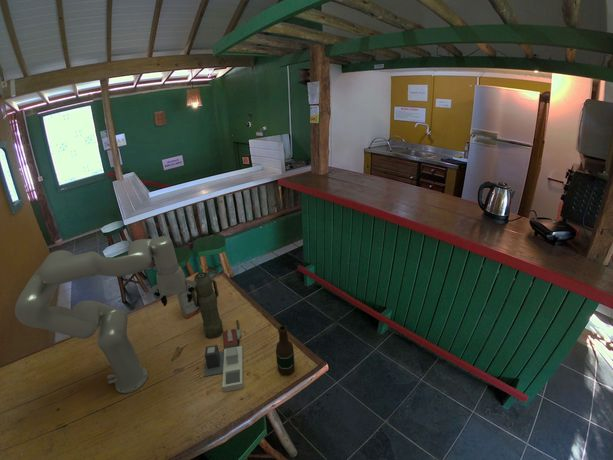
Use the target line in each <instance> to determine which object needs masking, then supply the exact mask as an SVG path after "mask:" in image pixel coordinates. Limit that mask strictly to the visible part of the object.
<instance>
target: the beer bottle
mask: <svg viewBox="0 0 613 460" xmlns="http://www.w3.org/2000/svg"><path fill="white" fill-rule="evenodd" d="M277 332H278V335H279V337H278V342H277V343H276V348H275V356H276V365H277V366H276V367H277V371H278V373H280V374H281V375H282V376H290V375H292V373H294V371H295V364H296V363H295V351H294V344H293V343H292V342H291V341H290V340H289V336H288V327H287V326H286V325H280V326H278V331H277Z"/></svg>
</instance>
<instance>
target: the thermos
mask: <svg viewBox="0 0 613 460" xmlns="http://www.w3.org/2000/svg"><path fill="white" fill-rule="evenodd" d="M194 281H195V282H196V285H195V288H194V290H193V291H192V292H191V293H192V297H193V301H194V305H195V306H196V307H198V308H199V309H200V315H201V319H202V328H203V331H204V333H205V337H206V338H207V339H210V340H213V339H217V338H220V336H222V335H223V332H224V329H223V322H222V318H220V313H219V309H218V297H219V296H220V295H219V290H218V285H217V281H216V280H215V279H214V278H211V276H210V275H209V273H208V272H204V271H201V272H198V274H196V275H195V277H194ZM195 290H196V292H197V298H196V297H195V293H194V291H195ZM196 300H197V301H196Z"/></svg>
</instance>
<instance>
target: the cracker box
mask: <svg viewBox="0 0 613 460" xmlns="http://www.w3.org/2000/svg"><path fill="white" fill-rule="evenodd" d="M198 273H199V272H195V273H193V274H191V275H189V276H187V277H186V280H191V281H194V277H195V275H196V274H198ZM187 286H188V287H191V286H192V285H189V284H187ZM194 293H195V297H196V298H197V292H196V290H195V291H194ZM176 297H177V300H178V304H179V308H180V311H181V315H182V316H184V318H185V319H187V320H188V319H190V318H192V317H194V316H195V315H197V314H198V313H201V311H200V309H199V308H198V307H196V306H195V305H194V301H193V298H192V299H191V302H188V298H187V293H186V292H184V293H180V294H176ZM196 301H197V300H196Z"/></svg>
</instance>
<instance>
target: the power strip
mask: <svg viewBox="0 0 613 460" xmlns="http://www.w3.org/2000/svg"><path fill="white" fill-rule="evenodd" d="M223 351H224V366H223V374H222V385H221V386H222V391H223V392H224V393H225V392H226V393H227V392H230V391H236V390H240V389H241V390H242V389H244V353H243V352H244V350H243V346H242V345H239V346H238V347H231V348H226V349H224V350H223Z"/></svg>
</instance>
